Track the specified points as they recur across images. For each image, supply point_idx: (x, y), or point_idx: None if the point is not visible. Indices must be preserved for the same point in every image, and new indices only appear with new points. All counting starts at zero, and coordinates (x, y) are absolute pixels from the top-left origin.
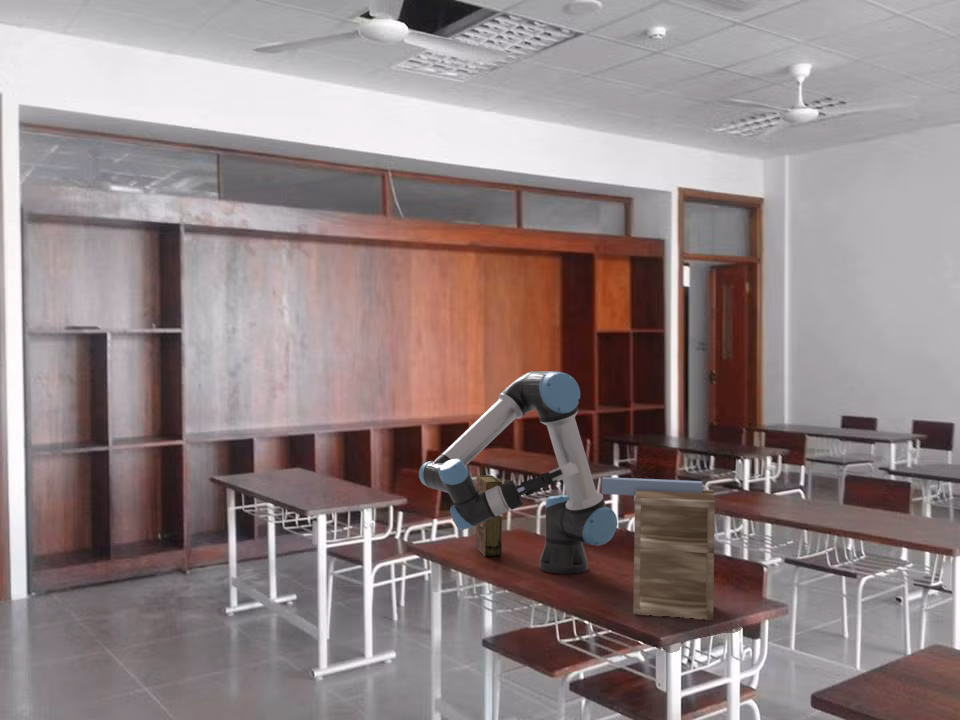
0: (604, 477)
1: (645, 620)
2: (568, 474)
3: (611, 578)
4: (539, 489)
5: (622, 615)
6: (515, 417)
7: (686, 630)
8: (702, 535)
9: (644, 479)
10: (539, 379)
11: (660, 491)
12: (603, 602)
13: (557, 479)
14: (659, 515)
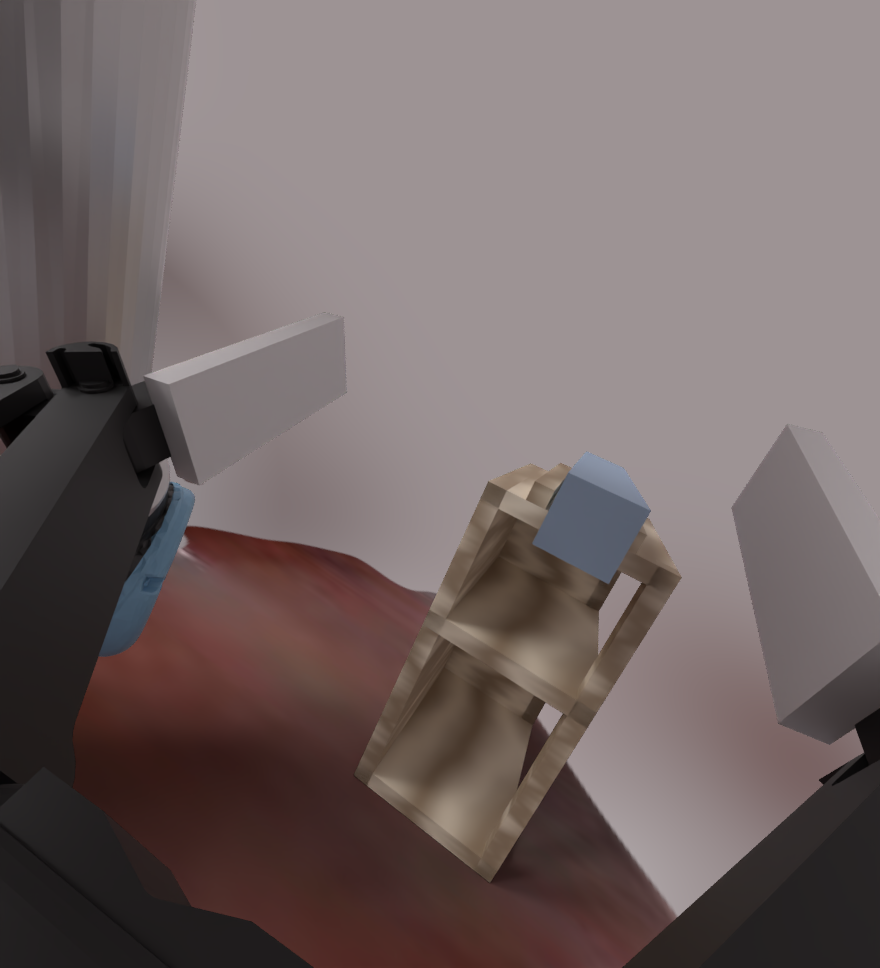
0: (584, 479)
1: (545, 882)
2: (290, 410)
3: (93, 683)
4: (73, 779)
5: (500, 933)
6: None
7: (609, 826)
8: (498, 555)
9: (597, 467)
10: None
11: None
12: (339, 908)
13: (200, 467)
14: (491, 544)
